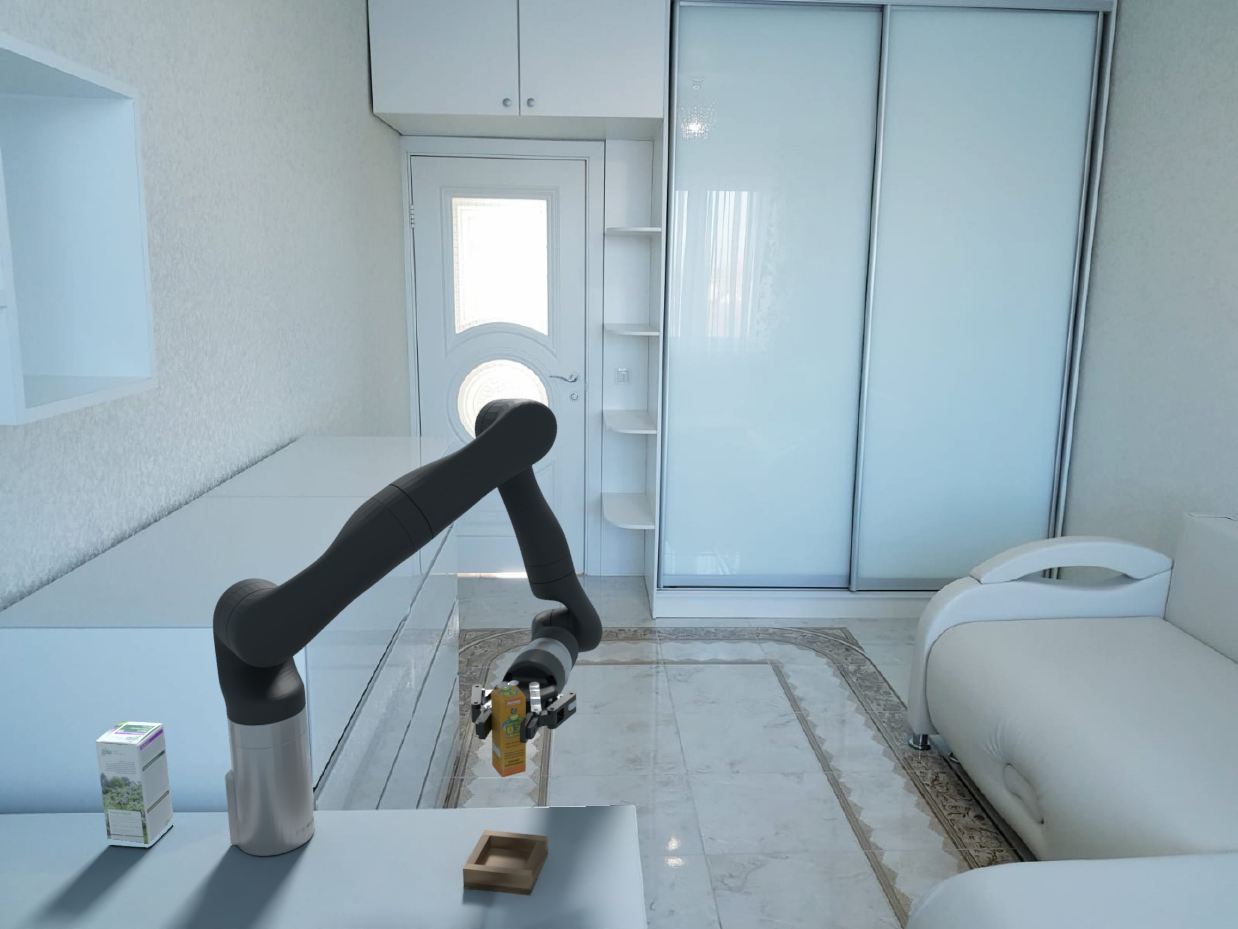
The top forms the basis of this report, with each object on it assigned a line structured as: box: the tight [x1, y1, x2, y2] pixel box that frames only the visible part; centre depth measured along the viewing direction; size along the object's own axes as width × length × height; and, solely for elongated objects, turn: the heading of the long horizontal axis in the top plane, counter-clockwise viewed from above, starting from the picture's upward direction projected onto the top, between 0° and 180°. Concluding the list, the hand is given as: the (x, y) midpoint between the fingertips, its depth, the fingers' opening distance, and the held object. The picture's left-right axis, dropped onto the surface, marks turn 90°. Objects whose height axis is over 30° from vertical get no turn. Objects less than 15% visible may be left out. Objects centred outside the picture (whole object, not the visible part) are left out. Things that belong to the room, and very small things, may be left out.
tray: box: [462, 829, 549, 896], centre depth 112 cm, size 8×8×2 cm
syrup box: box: [95, 721, 174, 844], centre depth 119 cm, size 6×6×14 cm
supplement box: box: [490, 685, 527, 778], centre depth 112 cm, size 3×3×10 cm
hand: (502, 733), depth 109 cm, fingers closed on supplement box, 4 cm apart
